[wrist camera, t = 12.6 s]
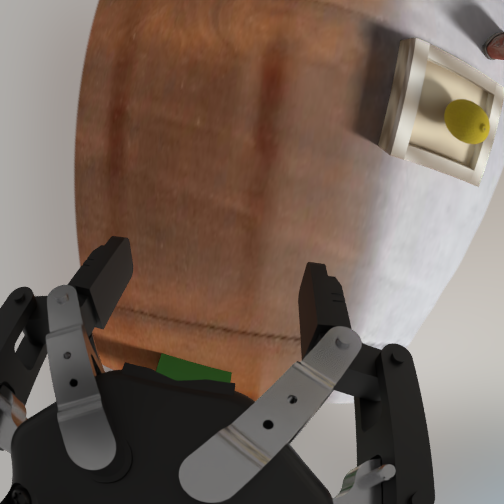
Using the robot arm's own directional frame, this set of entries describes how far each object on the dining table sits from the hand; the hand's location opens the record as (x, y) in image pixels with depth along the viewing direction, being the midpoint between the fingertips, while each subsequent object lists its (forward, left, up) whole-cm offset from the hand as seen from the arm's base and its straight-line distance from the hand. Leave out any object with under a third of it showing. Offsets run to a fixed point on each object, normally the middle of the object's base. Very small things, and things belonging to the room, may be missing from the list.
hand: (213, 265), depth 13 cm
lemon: (-10, +25, -25) cm, 37 cm away
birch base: (-10, +25, -29) cm, 39 cm away
